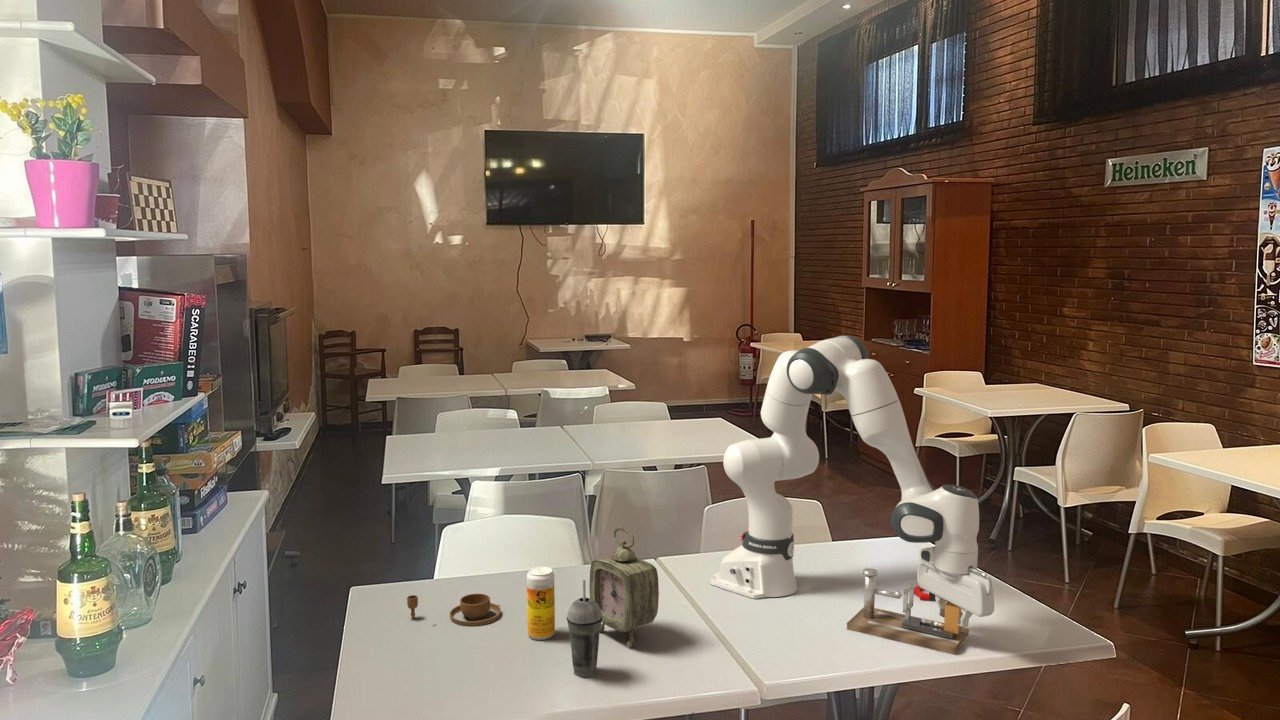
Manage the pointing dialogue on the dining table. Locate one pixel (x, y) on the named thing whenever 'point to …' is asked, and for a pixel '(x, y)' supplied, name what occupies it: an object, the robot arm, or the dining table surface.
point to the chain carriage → (928, 626)
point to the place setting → (465, 609)
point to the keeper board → (904, 631)
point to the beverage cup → (584, 634)
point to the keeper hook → (873, 593)
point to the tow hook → (924, 594)
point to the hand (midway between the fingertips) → (953, 621)
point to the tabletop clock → (624, 589)
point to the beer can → (540, 603)
